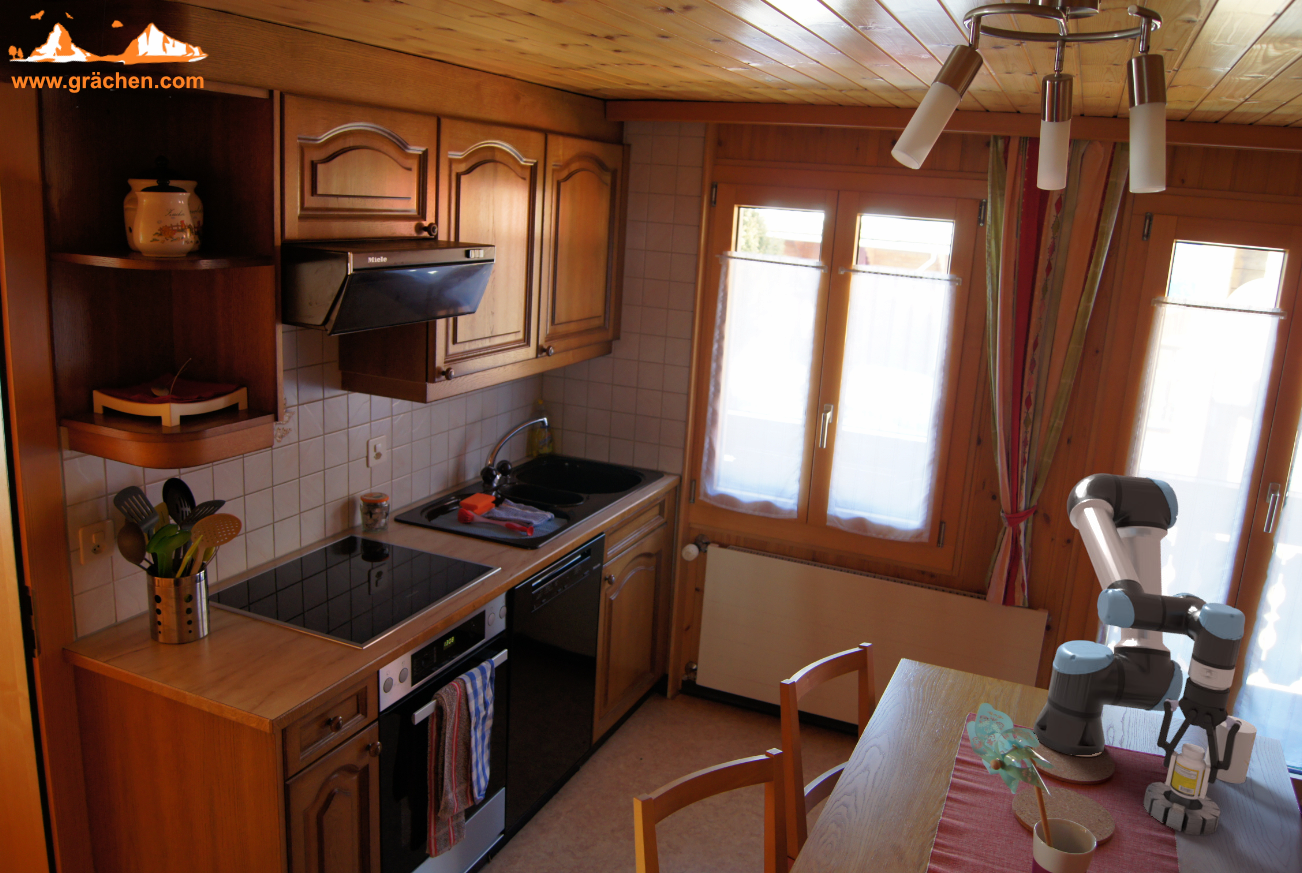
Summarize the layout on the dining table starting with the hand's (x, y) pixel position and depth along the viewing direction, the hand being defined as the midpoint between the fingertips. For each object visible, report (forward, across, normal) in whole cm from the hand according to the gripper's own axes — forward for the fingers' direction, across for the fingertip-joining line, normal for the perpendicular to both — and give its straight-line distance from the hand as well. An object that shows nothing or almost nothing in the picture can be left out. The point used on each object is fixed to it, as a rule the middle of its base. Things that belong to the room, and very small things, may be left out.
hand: (1185, 789), depth 188 cm
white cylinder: (+6, +4, +28) cm, 29 cm away
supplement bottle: (+1, 0, 0) cm, 1 cm away
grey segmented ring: (+6, 0, 0) cm, 6 cm away
